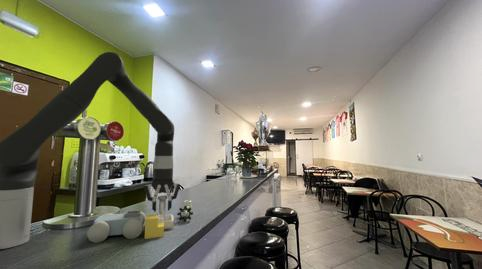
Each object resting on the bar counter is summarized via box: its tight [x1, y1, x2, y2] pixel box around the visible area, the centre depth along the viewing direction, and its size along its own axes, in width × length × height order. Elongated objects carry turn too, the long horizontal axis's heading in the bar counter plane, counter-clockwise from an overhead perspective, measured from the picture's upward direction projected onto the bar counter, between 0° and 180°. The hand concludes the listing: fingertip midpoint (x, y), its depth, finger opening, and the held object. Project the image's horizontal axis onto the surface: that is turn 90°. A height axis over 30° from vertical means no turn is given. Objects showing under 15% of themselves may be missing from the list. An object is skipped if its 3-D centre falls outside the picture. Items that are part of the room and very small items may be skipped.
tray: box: [158, 214, 175, 231], centre depth 85 cm, size 9×9×3 cm
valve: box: [176, 199, 194, 223], centre depth 98 cm, size 7×7×12 cm
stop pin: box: [157, 194, 168, 221], centre depth 86 cm, size 3×3×11 cm
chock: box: [144, 213, 165, 240], centre depth 76 cm, size 6×5×6 cm
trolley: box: [86, 209, 146, 244], centre depth 77 cm, size 16×13×7 cm
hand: (161, 210), depth 86 cm, fingers open, 4 cm apart
